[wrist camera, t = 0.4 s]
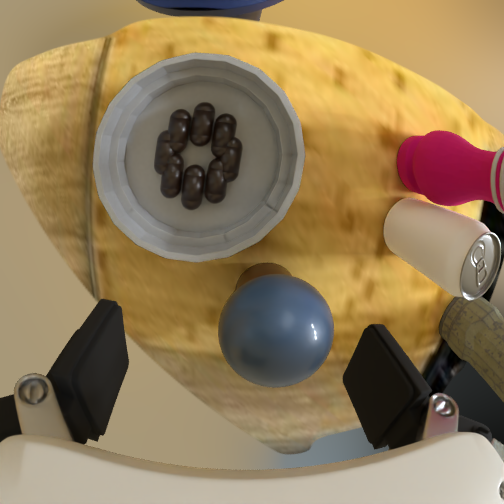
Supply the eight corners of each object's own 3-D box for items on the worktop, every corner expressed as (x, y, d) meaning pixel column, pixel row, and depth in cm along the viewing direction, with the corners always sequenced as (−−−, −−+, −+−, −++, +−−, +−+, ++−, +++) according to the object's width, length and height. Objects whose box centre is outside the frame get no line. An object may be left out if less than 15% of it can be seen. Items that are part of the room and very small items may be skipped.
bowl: (130, 69, 19) (112, 54, 15) (303, 86, 21) (318, 72, 17) (110, 233, 24) (90, 247, 20) (274, 254, 26) (282, 273, 22)
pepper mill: (444, 145, 23) (594, 171, 4) (433, 204, 25) (579, 270, 7) (398, 121, 22) (575, 121, 3) (386, 187, 24) (563, 255, 6)
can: (413, 185, 25) (498, 209, 13) (432, 232, 27) (506, 271, 15) (371, 219, 26) (449, 262, 14) (394, 265, 28) (462, 320, 16)
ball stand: (226, 241, 25) (223, 305, 14) (318, 254, 26) (369, 316, 16) (216, 322, 28) (211, 407, 17) (297, 329, 29) (326, 408, 18)
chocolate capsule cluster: (166, 101, 20) (162, 97, 18) (249, 109, 21) (250, 105, 19) (153, 203, 23) (147, 207, 21) (232, 213, 24) (232, 217, 22)
